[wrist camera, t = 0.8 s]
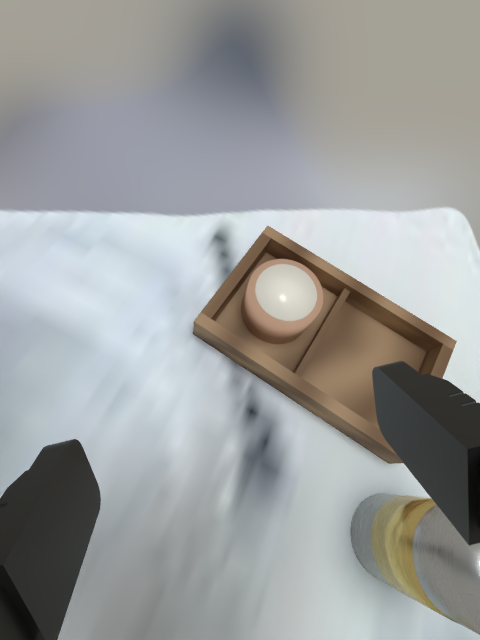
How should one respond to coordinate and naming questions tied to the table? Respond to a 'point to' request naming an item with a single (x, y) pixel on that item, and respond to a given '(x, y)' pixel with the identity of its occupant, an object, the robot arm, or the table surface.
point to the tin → (419, 554)
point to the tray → (326, 342)
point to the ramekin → (281, 301)
